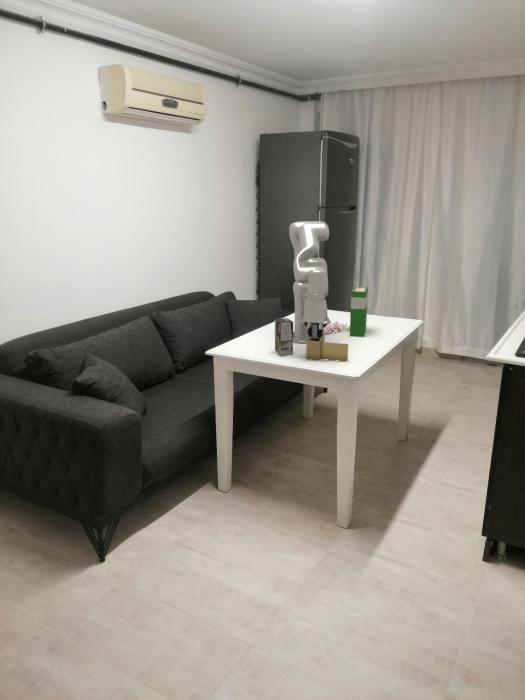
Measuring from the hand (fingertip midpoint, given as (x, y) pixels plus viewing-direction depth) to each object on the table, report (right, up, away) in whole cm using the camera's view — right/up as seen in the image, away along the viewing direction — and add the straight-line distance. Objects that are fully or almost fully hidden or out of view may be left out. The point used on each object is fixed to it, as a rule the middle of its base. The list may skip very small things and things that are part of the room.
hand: (315, 336), depth 249 cm
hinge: (+8, -9, +6) cm, 13 cm away
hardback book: (+28, +3, +49) cm, 57 cm away
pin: (0, -6, +2) cm, 6 cm away
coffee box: (-14, -8, +11) cm, 19 cm away
